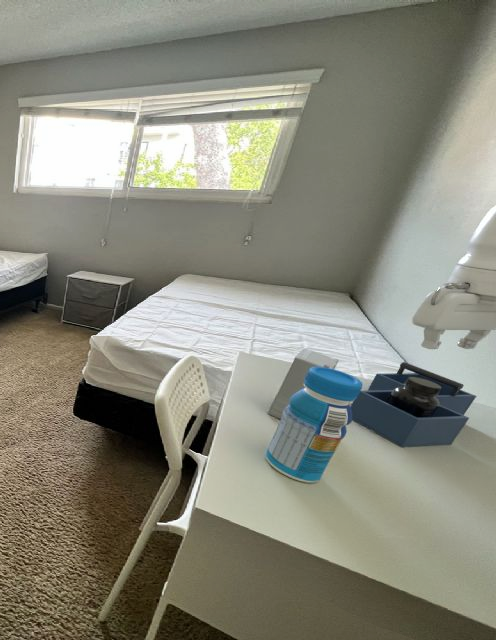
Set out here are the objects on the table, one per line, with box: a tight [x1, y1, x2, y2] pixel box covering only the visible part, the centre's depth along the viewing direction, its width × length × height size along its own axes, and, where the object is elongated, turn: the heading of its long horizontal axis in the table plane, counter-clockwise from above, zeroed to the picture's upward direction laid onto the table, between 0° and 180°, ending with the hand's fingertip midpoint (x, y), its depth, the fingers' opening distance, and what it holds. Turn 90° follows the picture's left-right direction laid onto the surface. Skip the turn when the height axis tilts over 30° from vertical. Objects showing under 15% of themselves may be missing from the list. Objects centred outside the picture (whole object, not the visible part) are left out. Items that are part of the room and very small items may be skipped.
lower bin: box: [350, 389, 470, 448], centre depth 78 cm, size 13×11×7 cm
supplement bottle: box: [386, 377, 441, 418], centre depth 77 cm, size 7×7×12 cm
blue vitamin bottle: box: [265, 367, 363, 484], centre depth 62 cm, size 8×8×20 cm
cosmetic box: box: [267, 348, 340, 420], centre depth 79 cm, size 8×7×16 cm
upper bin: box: [367, 361, 477, 416], centre depth 87 cm, size 13×11×10 cm
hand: (446, 347), depth 72 cm, fingers open, 8 cm apart
